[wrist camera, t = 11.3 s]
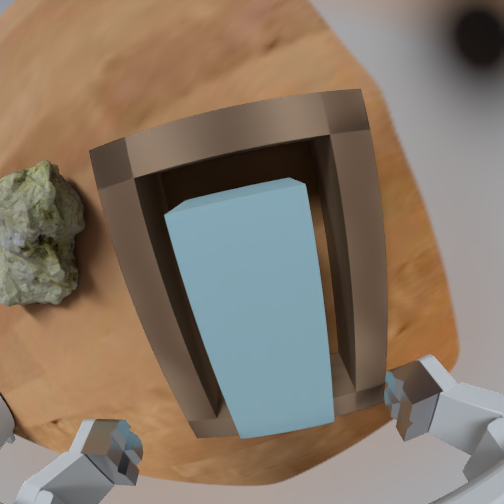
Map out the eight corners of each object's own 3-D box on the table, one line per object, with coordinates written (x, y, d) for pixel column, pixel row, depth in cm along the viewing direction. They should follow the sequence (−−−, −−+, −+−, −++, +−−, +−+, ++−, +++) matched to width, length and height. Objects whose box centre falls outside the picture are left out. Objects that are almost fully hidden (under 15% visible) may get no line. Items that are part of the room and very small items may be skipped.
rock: (20, 288, 20) (102, 313, 19) (-30, 316, 14) (48, 358, 13) (10, 165, 18) (96, 158, 16) (-49, 172, 11) (22, 160, 10)
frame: (203, 396, 22) (197, 438, 18) (123, 151, 16) (89, 150, 12) (363, 365, 21) (382, 402, 17) (334, 104, 16) (361, 88, 12)
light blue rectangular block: (185, 200, 14) (164, 215, 10) (289, 177, 14) (305, 184, 10) (241, 390, 18) (241, 439, 14) (319, 375, 17) (334, 421, 14)
